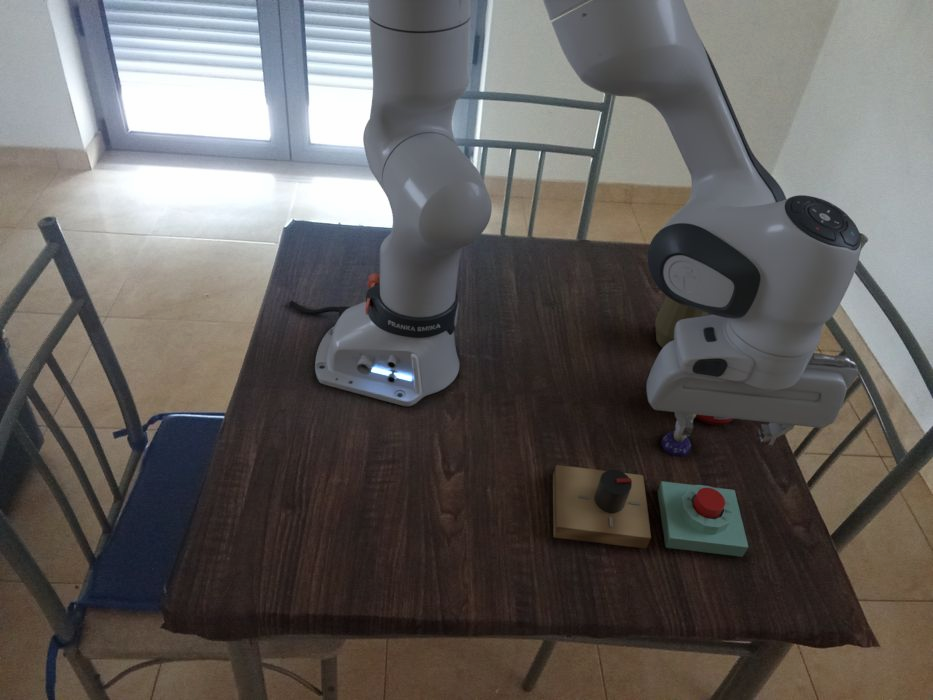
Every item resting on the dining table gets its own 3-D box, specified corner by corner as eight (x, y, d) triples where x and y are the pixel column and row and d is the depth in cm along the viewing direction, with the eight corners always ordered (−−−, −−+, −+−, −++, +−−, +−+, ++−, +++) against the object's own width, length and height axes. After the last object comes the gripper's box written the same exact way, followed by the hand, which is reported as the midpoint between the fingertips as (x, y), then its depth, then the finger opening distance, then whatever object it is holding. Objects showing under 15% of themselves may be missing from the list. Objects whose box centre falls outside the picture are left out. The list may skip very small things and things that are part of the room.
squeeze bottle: (655, 357, 119) (686, 269, 107) (644, 326, 125) (673, 239, 113) (702, 359, 120) (738, 272, 108) (689, 328, 126) (722, 242, 114)
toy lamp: (690, 462, 103) (728, 381, 91) (658, 456, 103) (692, 373, 92) (689, 438, 106) (726, 356, 95) (658, 431, 107) (691, 349, 95)
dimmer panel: (553, 537, 91) (556, 526, 90) (552, 475, 99) (556, 463, 97) (646, 549, 91) (651, 537, 89) (638, 486, 99) (643, 474, 97)
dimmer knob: (598, 514, 92) (605, 493, 89) (591, 488, 94) (597, 468, 92) (628, 512, 92) (636, 492, 89) (620, 487, 95) (627, 467, 92)
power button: (695, 516, 91) (699, 508, 90) (690, 493, 94) (694, 485, 93) (723, 520, 91) (727, 512, 90) (718, 497, 94) (722, 489, 93)
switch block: (665, 547, 92) (673, 530, 89) (657, 491, 98) (664, 473, 96) (742, 557, 92) (753, 539, 89) (729, 499, 98) (738, 482, 96)
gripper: (856, 339, 75) (806, 425, 85) (662, 318, 76) (634, 406, 85) (875, 381, 71) (820, 467, 80) (668, 359, 71) (638, 447, 81)
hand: (722, 435), depth 83 cm, fingers open, 8 cm apart
